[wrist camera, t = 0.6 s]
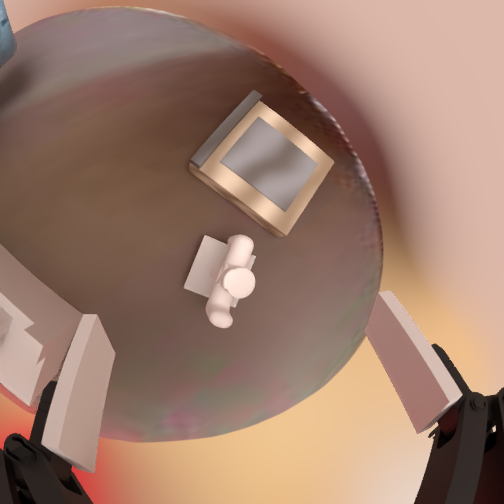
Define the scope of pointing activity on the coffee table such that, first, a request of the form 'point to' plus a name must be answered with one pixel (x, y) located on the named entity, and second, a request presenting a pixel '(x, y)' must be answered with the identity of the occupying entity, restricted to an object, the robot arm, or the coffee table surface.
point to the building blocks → (31, 330)
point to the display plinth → (262, 165)
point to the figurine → (222, 275)
